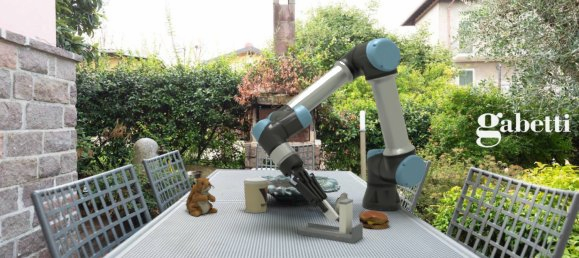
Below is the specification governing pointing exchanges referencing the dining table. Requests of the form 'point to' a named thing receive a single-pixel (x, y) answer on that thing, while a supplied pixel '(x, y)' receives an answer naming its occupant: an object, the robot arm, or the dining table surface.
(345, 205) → the fader tab
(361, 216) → the burger
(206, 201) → the stuffed squirrel
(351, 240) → the fader rail
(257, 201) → the coffee cup
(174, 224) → the dining table surface
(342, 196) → the decorative bird
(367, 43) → the robot arm
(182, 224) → the dining table surface
